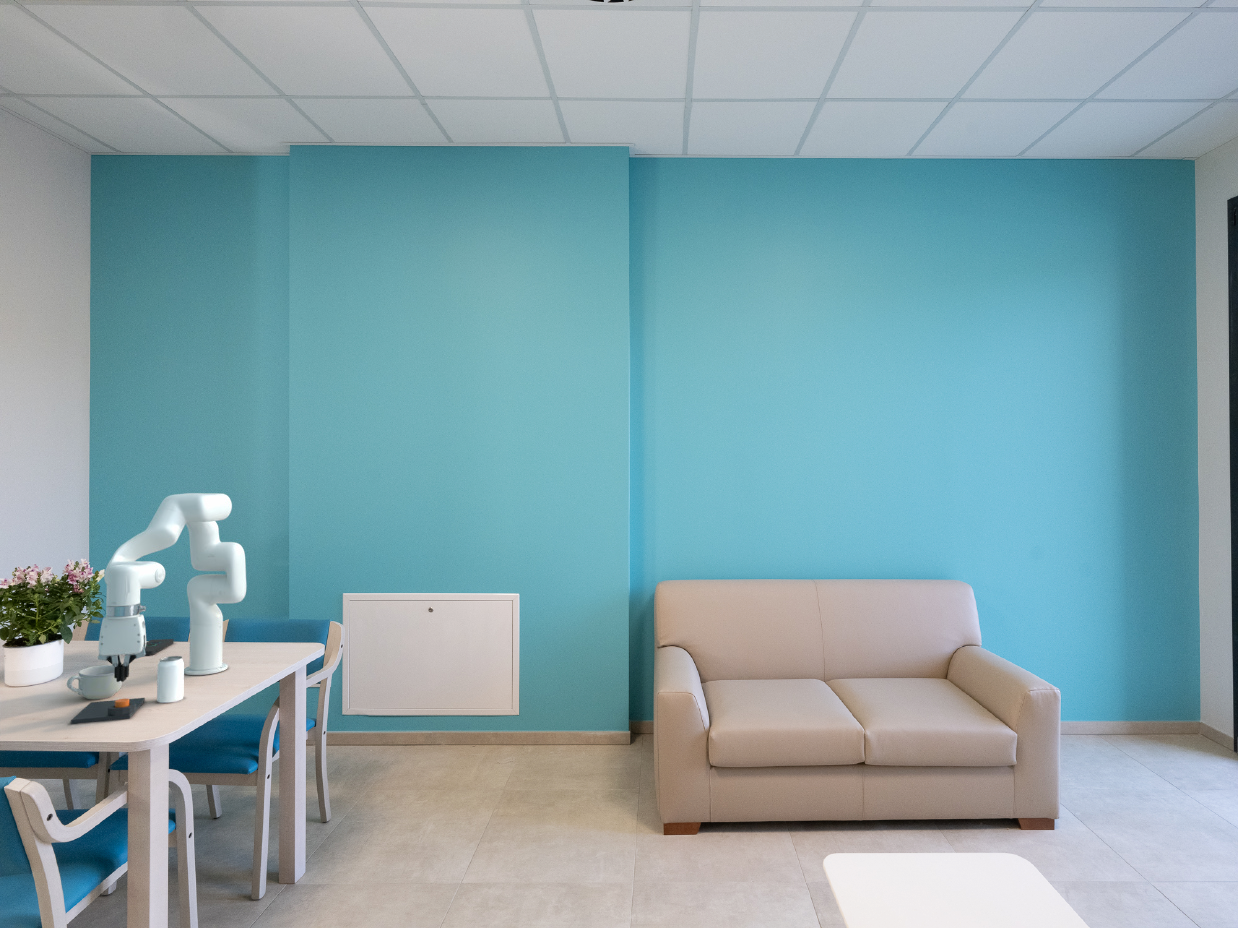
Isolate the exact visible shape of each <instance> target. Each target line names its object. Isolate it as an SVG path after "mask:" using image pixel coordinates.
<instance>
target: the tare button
mask: <svg viewBox="0 0 1238 928" xmlns="http://www.w3.org/2000/svg"><path fill="white" fill-rule="evenodd" d="M129 699H130V698H119V699H115V700H116V701H115V708H120V707H126V706H129Z"/></svg>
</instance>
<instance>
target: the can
mask: <svg viewBox="0 0 1238 928" xmlns="http://www.w3.org/2000/svg"><path fill="white" fill-rule="evenodd" d="M184 669H185V662H184V660H183V656H181V655H171V656H165V657H160V658H159V662H158V664H157V673H156V674H157V677H156V678H157V679H156V681H157V683H156V685H157V686H156V702H158V703H159V704H172V703H177V702H180V701H182V700H183V699H184V691H185V690H184V685H185V683H184V682H185V681H184V680H185V673H184Z"/></svg>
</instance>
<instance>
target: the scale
mask: <svg viewBox="0 0 1238 928" xmlns="http://www.w3.org/2000/svg"><path fill="white" fill-rule="evenodd" d="M128 699H129V706H126V707H120V708H115V701H116V700H117V699H114V700H113V699H112V700H102V701H91V702H90V703H88V704H87V705H86V706H85V707H84V708H83V709H82V710H80V712H78V713H77V714H76V715H75V716H73V718H72V719H71V721H70V724H71V725H79V724H80V725H81V724H88V723H100V722H112V721H121V720H131V718H132V717H133V716H134V715H135V713H136V712H137V711H138V710H139V709H140V708H141V707H142V705H143V704H144V703H145V702H146V698H145V697H135V698H128Z"/></svg>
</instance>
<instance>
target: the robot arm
mask: <svg viewBox="0 0 1238 928" xmlns="http://www.w3.org/2000/svg"><path fill="white" fill-rule="evenodd" d="M232 508H233V503H232V500H231V498H230V496H229V495H227V494H226V493H220V492H219V493H214V492H212V493H205V492H202V493H201V492H185V493H175V494H170V495H168V496H166V497H165V498H164V499H162V501H161V503H160V504H159V506H158V508H157V510H156V512H155V514H153V516H152V519H151V520H150V522H149V524H148V526H147V528H146V529H145V530H143V531H142V532H140V533H138V534H136V535H135V536H133V537H131V538H130V539H129V540H127V541H125V542H124V543H122V544H121V545H120V546H119V547H118V548H117V549H116V550H115V552H113V555H112V556H111V558H110V560H109V562H108V563H107V565H106V567H105V571H104V574H103V579H104V582H105V584H106V600H105V601H106V604H105V605H106V606H105V616H104V617H103V618H102V621H101V626H100V631H99V636H98V637H99V638H98V656H97V659H98V660H100V661H107V662H108V663H110V665H113V667H115V669H114V678H117V680H116V681H117V682H119V681H121V682H122V683H123V682H126V680H127V678H129V676H130V664H131V663H132V662H133V661H135V660H136V659H140V658H144V657H146V656H145V655H146V652H145V648H146V642H147V633H146V632H147V631H146V622H145V617H144V614H141V613H143V612H146V611H147V605H142V604H141V590H143V589H145V590H147V589H155V588H157V587H158V586H160V585H161V584H162V583H163V582H164V580H165V578H166V570H165V567H164V566H163V564H161V563H159V562H157V561H152V560H151V561H149V560H148V561H145V560H142V561H141V560H140V559H141V558H143V557H144V556H147V555H151V554H153V553H156V552H160V551H163V550H165V549H168V548H170V547H173V546H174V545H175V544H176V543H177V541H178V540H179V537H180V536H181V534H182V532H183V529H184V528H185V526H186V527H187V530H188V536H189V554H190V555H189V556H190V563H191V567H192V568H193V569H194V570H196V571H200V572H225V573H224V574H220V573H210V574H209V573H208V574H207V573H205V574H197V575H195V576H193V577H191V578H190V579H189V581H188V582H187V586H186V594H187V595H186V596H187V599H188V606H189V660H188V661H189V666H187V667H184V675H189V676H206V675H213V674H217V673H218V674H219V673H221V672H224V671H226V670H227V669H228V667H229V666H228V665H229V664H227V663H225V662H223V643H224V641H223V639H224V638H223V636H224V635H223V633H224V629H223V628H224V615H223V612H222V610H221V609H220V607H219V606H218V605H217V604H238V603H240V602H242V601H243V600H244V599H245V597H246V594H247V566H246V554H245V553H246V552H245V550H244V548H243V546H242V544H240V543H238V542H234V541H221V539H220V530H219V525H218V523H217V522H219V521H224V520H226V519H227V518H228V517H229V516H230V514H231V512H232ZM139 560H140V561H139ZM121 656H124V658H123V662H122V661H121Z"/></svg>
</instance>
